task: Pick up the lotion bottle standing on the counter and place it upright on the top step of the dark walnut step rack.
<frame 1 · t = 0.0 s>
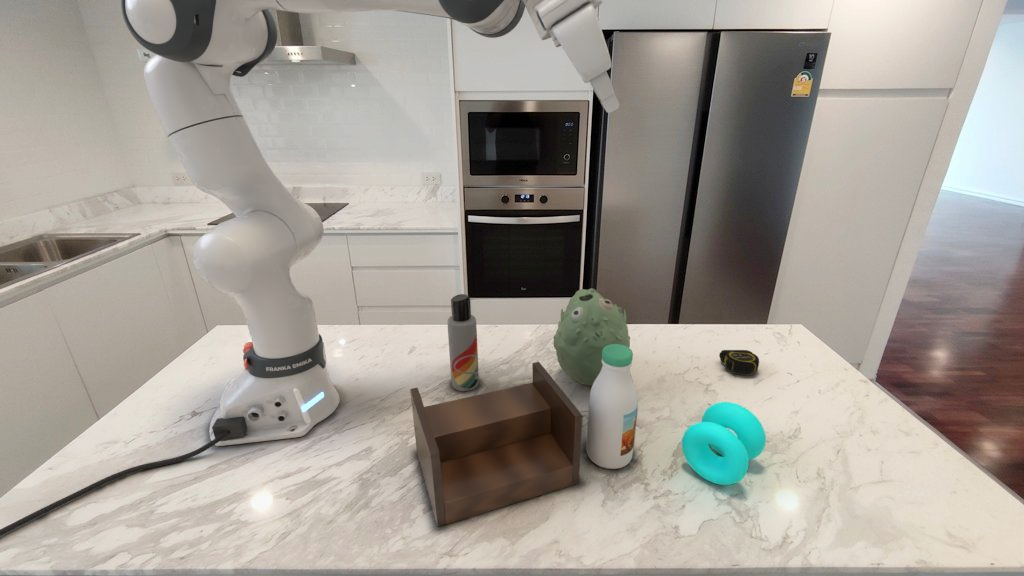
hand: (611, 109, 65), 54 cm above the counter, tool tilted 30°, fingers open, 8 cm apart
lotion bottle: (465, 384, 101), on the counter
tape measure: (736, 369, 105), on the counter
green monster figurine: (589, 380, 102), on the counter
turquoise yo-yo: (718, 467, 78), on the counter
milk bottle: (608, 454, 81), on the counter
step rack: (494, 467, 78), on the counter
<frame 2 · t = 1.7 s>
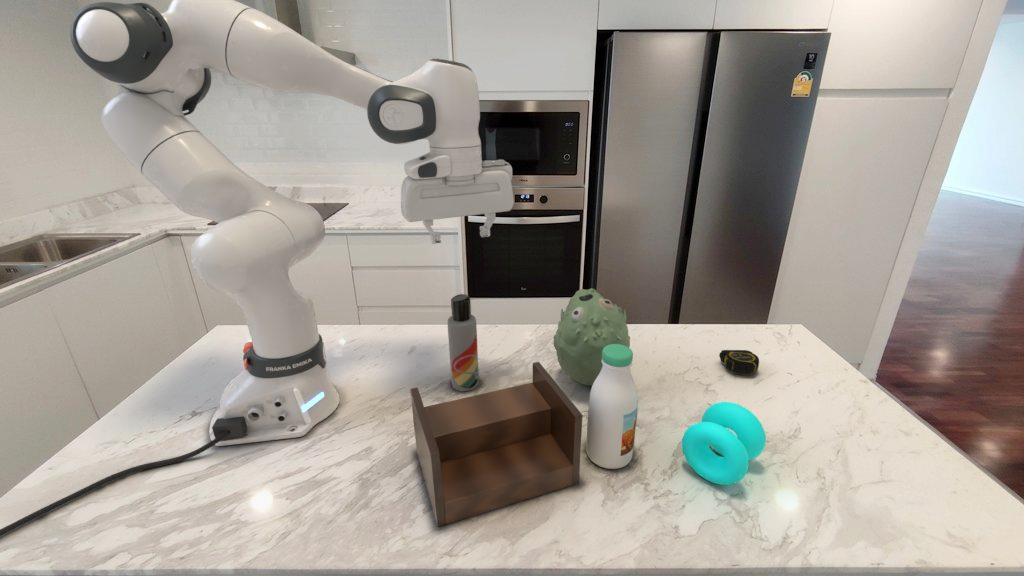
hand: (460, 239, 88), 31 cm above the counter, tool pointing down, fingers open, 8 cm apart
nothing on the counter moved.
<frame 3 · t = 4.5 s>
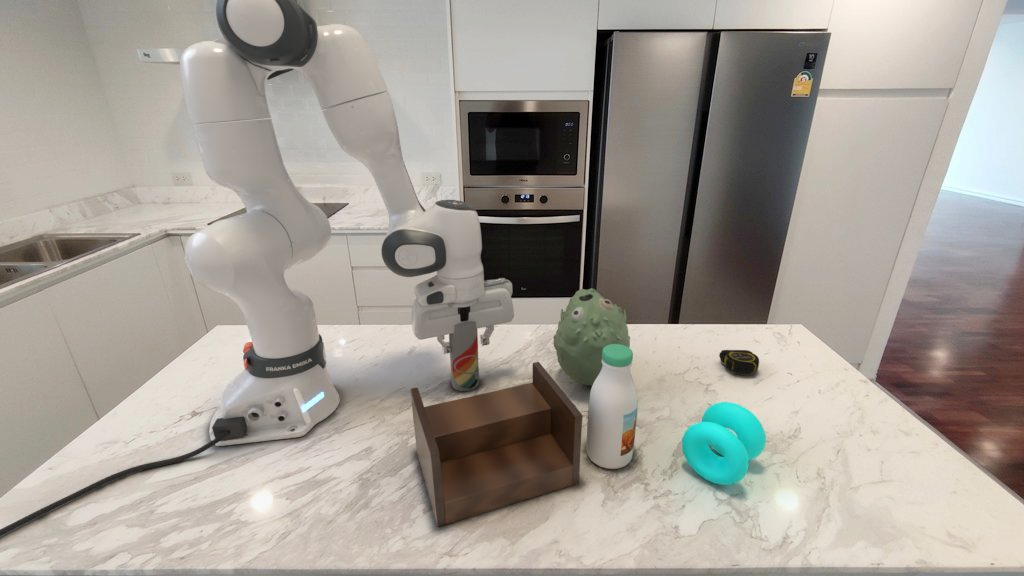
hand: (466, 348, 97), 9 cm above the counter, tool pointing down, fingers open, 7 cm apart
lotion bottle: (465, 384, 101), on the counter, touching arm, gripper
everything else where it was.
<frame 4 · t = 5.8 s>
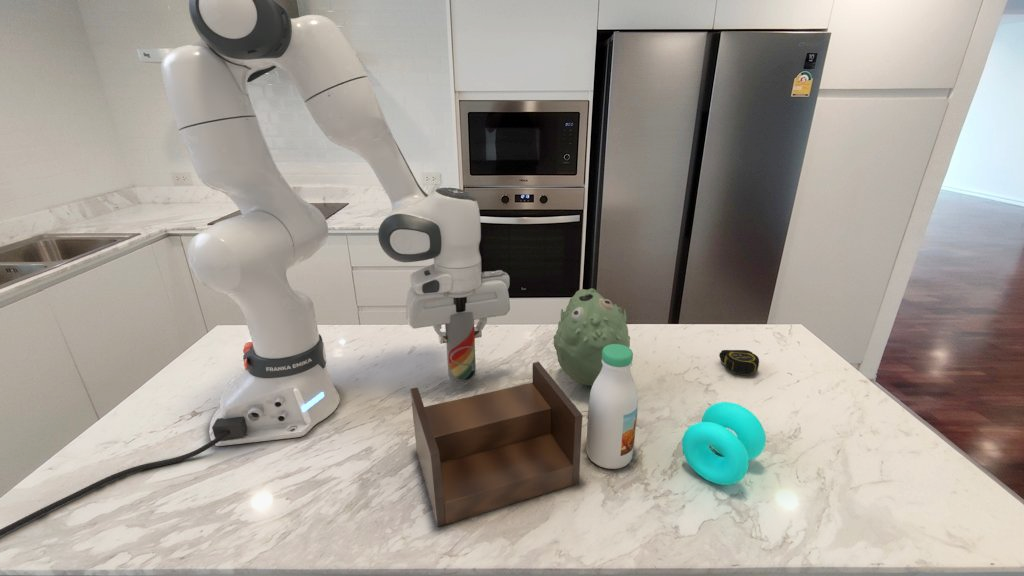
hand: (460, 339, 96), 11 cm above the counter, tool pointing down, fingers closed on lotion bottle, 5 cm apart
lotion bottle: (462, 376, 100), point 2 cm above the counter, touching arm, gripper
everything else where it was.
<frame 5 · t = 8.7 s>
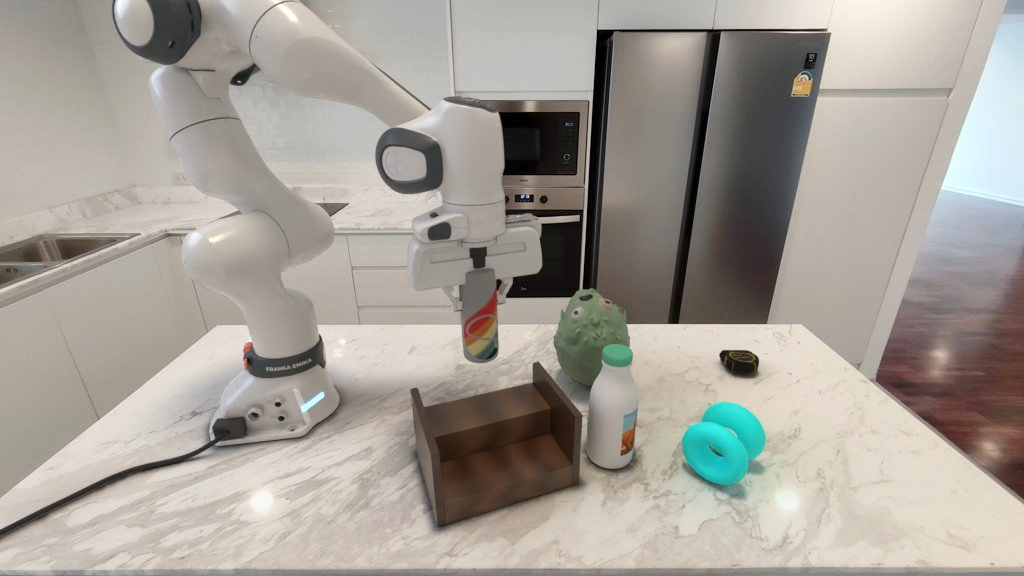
hand: (478, 306, 74), 26 cm above the counter, tool pointing down, fingers closed on lotion bottle, 5 cm apart
lotion bottle: (481, 355, 77), point 17 cm above the counter, touching arm, gripper
everything else where it was.
when the fingers open (18 cm above the counter, at t = 11.7 s): lotion bottle stays where it is, resting on step rack.
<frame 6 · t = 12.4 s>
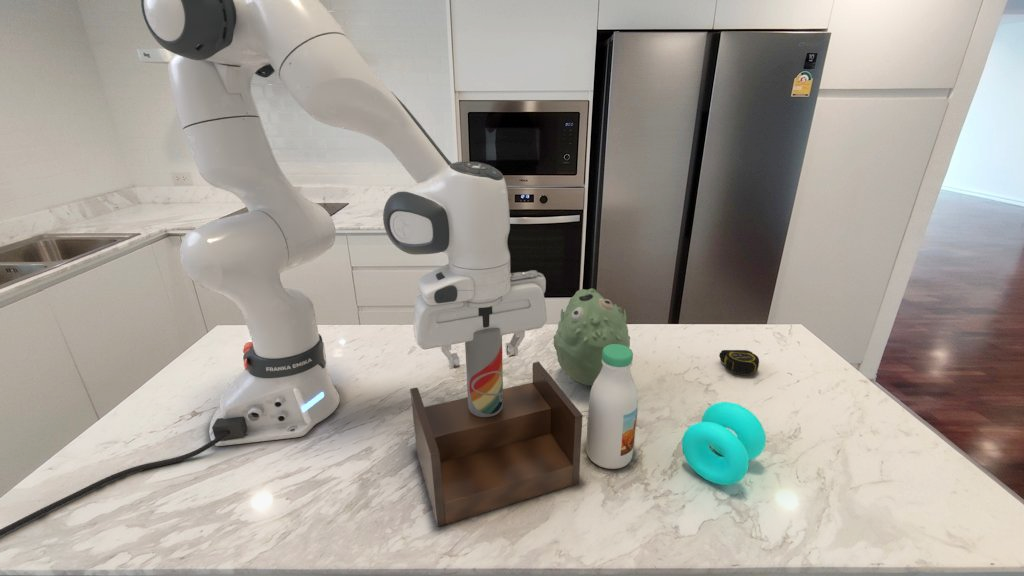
hand: (483, 360, 75), 18 cm above the counter, tool pointing down, fingers open, 8 cm apart
lotion bottle: (485, 408, 78), point 9 cm above the counter, touching step rack
everything else where it was.
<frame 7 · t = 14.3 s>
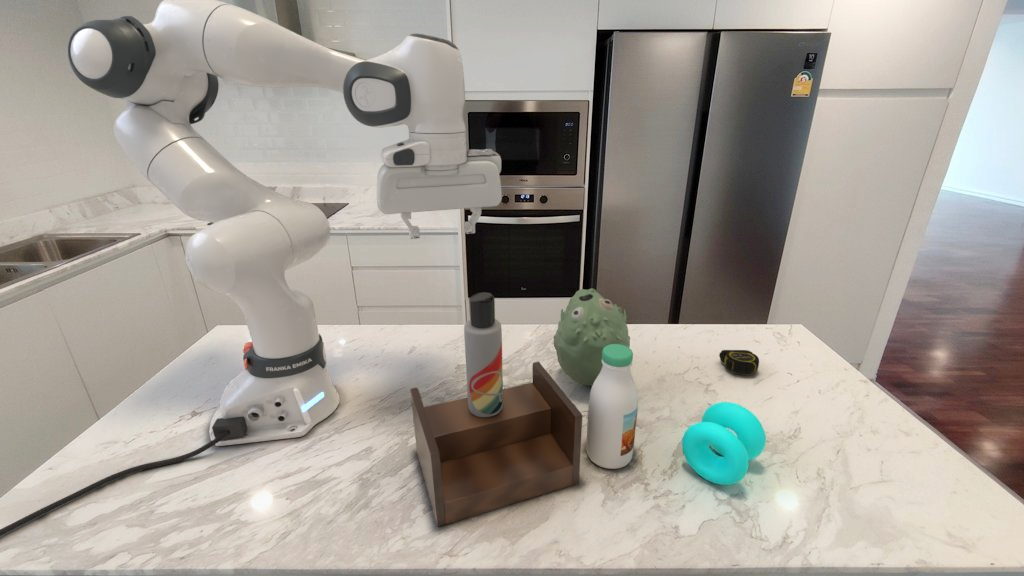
hand: (442, 235, 81), 34 cm above the counter, tool pointing down, fingers open, 8 cm apart
nothing on the counter moved.
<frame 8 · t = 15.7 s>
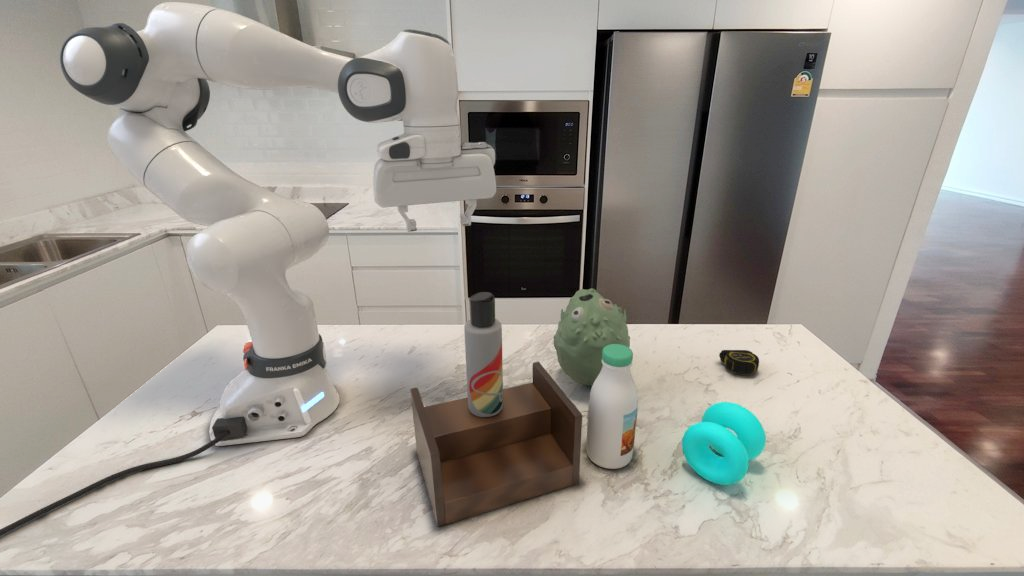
hand: (439, 228, 82), 35 cm above the counter, tool pointing down, fingers open, 8 cm apart
nothing on the counter moved.
at the end: lotion bottle inside the target area on the step rack (0.2 cm from its centre), point 8.8 cm above the step rack's base; lotion bottle tilted 0°; the gripper is holding nothing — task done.
